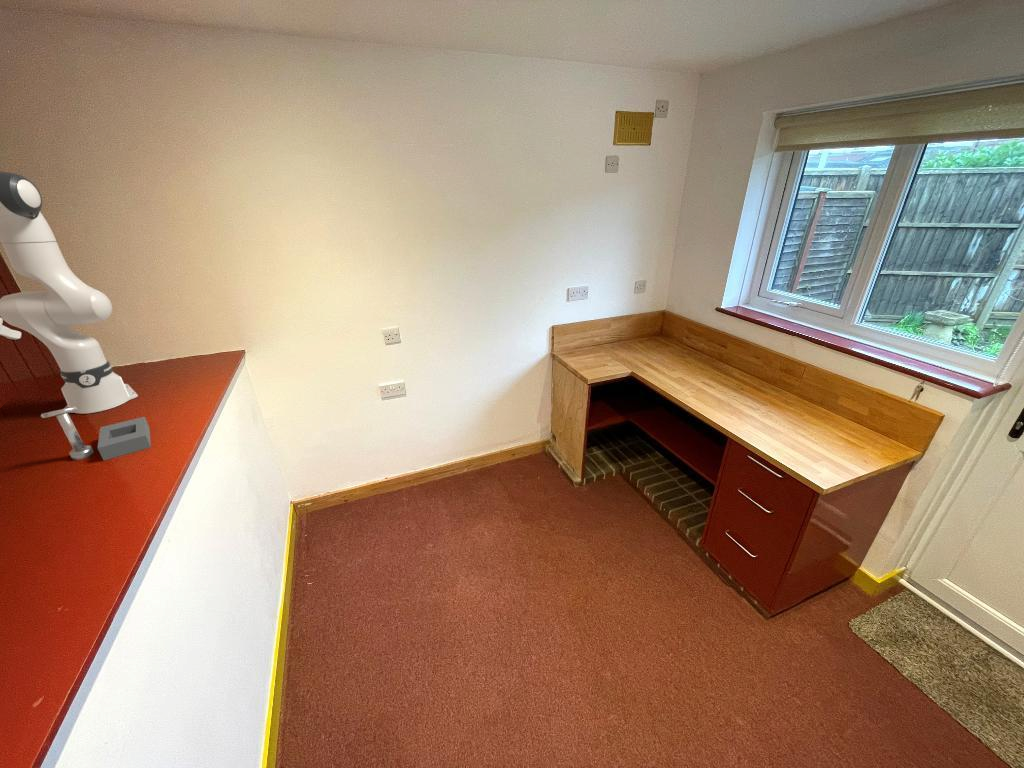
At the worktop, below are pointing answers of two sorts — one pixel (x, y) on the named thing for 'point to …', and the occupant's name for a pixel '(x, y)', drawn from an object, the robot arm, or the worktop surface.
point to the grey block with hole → (124, 438)
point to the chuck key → (71, 433)
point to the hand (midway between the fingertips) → (7, 340)
